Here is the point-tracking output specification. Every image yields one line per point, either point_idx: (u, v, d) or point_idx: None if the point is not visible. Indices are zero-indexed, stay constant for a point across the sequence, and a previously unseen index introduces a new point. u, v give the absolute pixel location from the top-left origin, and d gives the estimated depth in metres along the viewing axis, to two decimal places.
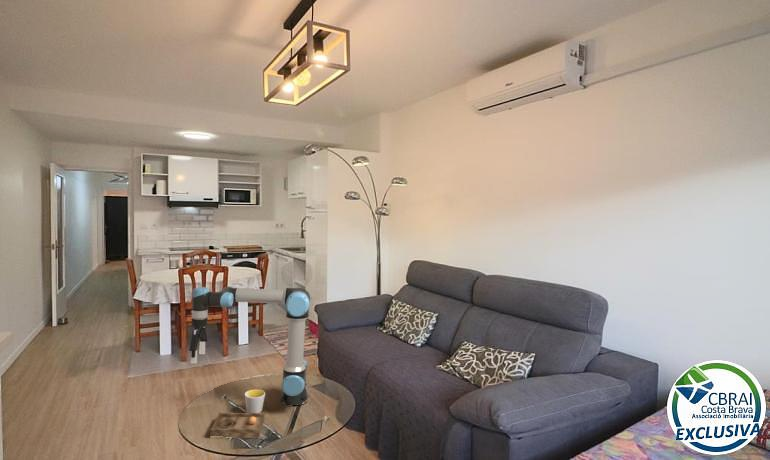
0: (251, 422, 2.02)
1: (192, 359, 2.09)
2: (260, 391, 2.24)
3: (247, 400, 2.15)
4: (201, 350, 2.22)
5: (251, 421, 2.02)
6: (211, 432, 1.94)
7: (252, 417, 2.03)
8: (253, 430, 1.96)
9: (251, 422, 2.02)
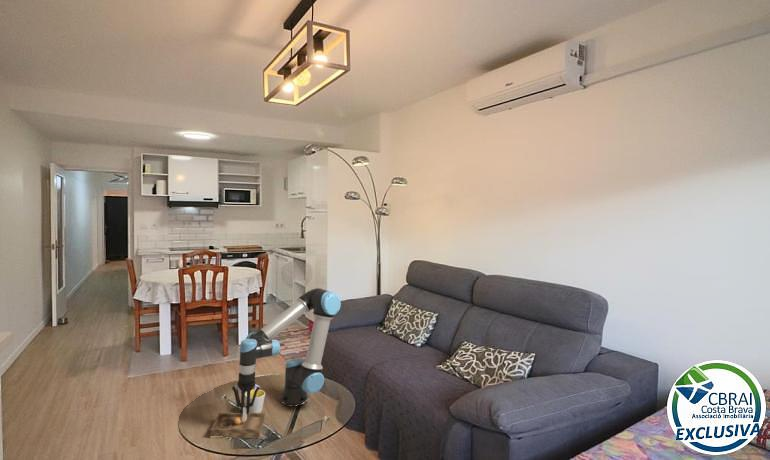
0: (237, 421, 2.01)
1: None
2: (260, 391, 2.24)
3: None
4: None
5: (238, 422, 2.01)
6: (211, 432, 1.94)
7: (240, 423, 2.02)
8: (253, 430, 1.96)
9: (237, 421, 2.01)
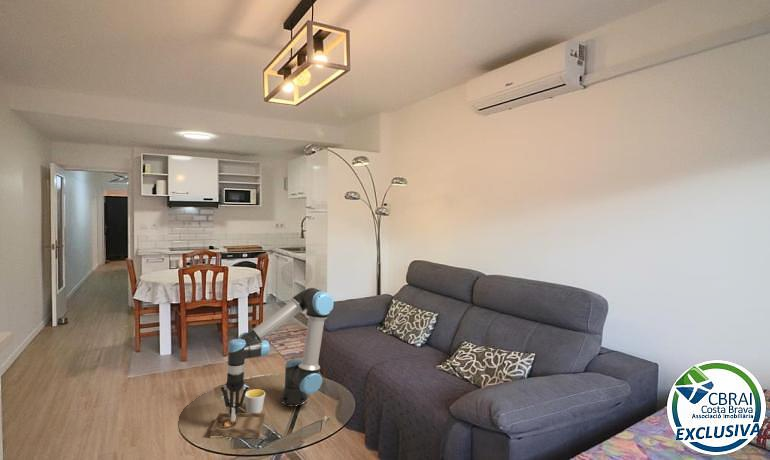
0: (226, 425, 2.01)
1: None
2: (260, 391, 2.24)
3: (247, 400, 2.15)
4: None
5: (226, 425, 2.01)
6: (211, 432, 1.94)
7: None
8: (253, 430, 1.96)
9: None
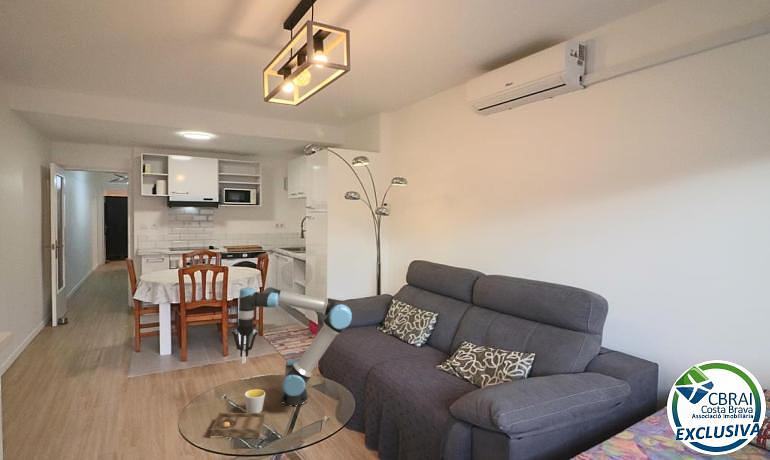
0: (225, 426, 2.01)
1: None
2: (260, 391, 2.24)
3: (247, 400, 2.15)
4: None
5: (224, 425, 2.01)
6: (211, 432, 1.94)
7: (223, 423, 2.02)
8: (253, 430, 1.96)
9: (225, 426, 2.00)
